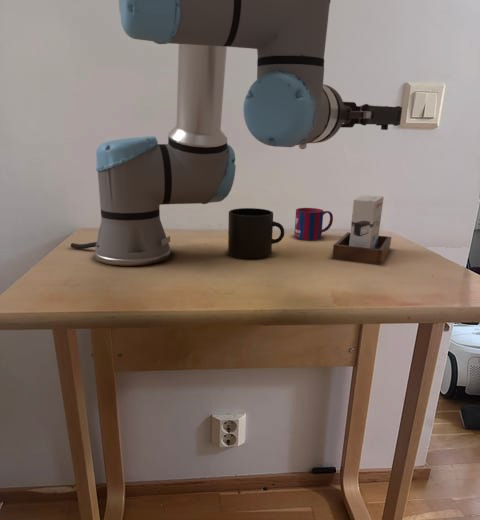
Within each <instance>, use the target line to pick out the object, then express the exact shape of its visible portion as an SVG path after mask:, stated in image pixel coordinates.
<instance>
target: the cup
mask: <svg viewBox="0 0 480 520" xmlns="http://www.w3.org/2000/svg"><path fill="white" fill-rule="evenodd" d="M326 214H328V215H329V222H328V223H327V226H326V227H325V228H323V222H324V215H326ZM294 219H295V220H294V221H295V222H294V236H293V237H294V239H297V240H302V241H319V240H321V239H322V233H325V232H327V231H328V230H330V228H331V227H332V225H333V221H334V216H333V213H332V212H331V211H329V210H323V209H321V208H316V207H299V208H296V209H295V217H294Z"/></svg>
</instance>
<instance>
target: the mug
mask: <svg viewBox="0 0 480 520" xmlns="http://www.w3.org/2000/svg"><path fill="white" fill-rule="evenodd" d="M227 227H228V232H227V233H228V234H227V235H228V236H227V241H228V242H227V252H228V254H229V255H230V256H232V257H234V258H238V259H243V260H244V259H245V260H257V259H258V260H259V259H265V258H268V257H270V256H271V255H272V253H273V245H274V244H278V243H280V242H281V241H282V240H283V238H284V237H285V228H284V227H283V225H282V224H281V223H280V222H278V221H274V211H272V210H269V209H265V208H255V207H254V208H253V207H243V208H242V207H240V208H233V209H230V210H229V211H228V226H227ZM275 227H276V228H278V230H279V231H280V233H279V236H278V237H277V238H273V229H274V228H275Z"/></svg>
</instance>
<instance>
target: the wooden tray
mask: <svg viewBox="0 0 480 520" xmlns="http://www.w3.org/2000/svg"><path fill="white" fill-rule="evenodd" d="M350 232H351V231H350ZM350 232H349V231H348V232H346V233H345V234H344V235H343V236H342V237H340V238H339V239H338V240H337V241H336V242H335V243H334V244H333V246H332V247H333V248H332V256H331V257H332V258H331V259H332V260H340V261H347V262H355V263H361V264H362V263H364V264H370V265H380V266H381V265H382V263H383V261H384V260H385V258H386V256H387V255H388V253H389V251H390V250H391V242H392V236H387V235H379V236H378V243H377V249H372V248H363V247H354V246H349V242H350Z"/></svg>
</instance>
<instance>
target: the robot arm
mask: <svg viewBox="0 0 480 520" xmlns="http://www.w3.org/2000/svg"><path fill="white" fill-rule="evenodd" d="M330 7H331V0H118V9H119V10H118V11H119V15H120V22H121V23H120V24H121V26H122V29H123V31H124V33H125V34H126V35H127V36H128V37H129V38H131V39H133V40H138V41H147V42H153V43H154V44H157V45H167V44H174V45H178V47H177V48H178V51H177V85H176V87H177V88H176V89H177V90H176V91H177V92H176V125H175V126H174V127H173V128H172V129H171V130H170V131H169V132H168V136H167V137H168V138H167V139H168V141H167V143H164V144H163V143H159V141H158V140H157V138H156V137H155V136H150V135H148V136H140V137H139V136H137V137H136V136H135V137H128V138H121V139H120V138H119V139H115V140H109V141H105V142H101V143H100V144H99V145H98V146H97V148H96V150H95V151H96V152H95V154H96V155H95V157H96V167H95V171H96V172H97V180H98V182H97V183H98V195H99V207H100V221H101V222H100V225H99V228H98V234H97V239H96V241H94V242H88V243H74V242H72V243H70V248H73V249H78V250H80V249H81V250H85V249H90V248H94V255H95V256H94V257H95V260H97V261H98V262H100V263H103V264H106V265H110V266H121V267H134V266H135V267H136V266H138V267H139V266H146V265H153V264H157V263H162V262H163V261H166V260H168V259H169V258H170V257H171V248H170V247H171V246H170V243H171V235H169V236H167V235H166V232H165V229H164V226H163V224H162V221H161V215H160V214H161V212H160V210H161V209H160V206H162V205H190V204H192V205H195V204H196V205H197V204H201V205H207V204H210V203H219V202H222V201H224V200H225V199H226V198H227V197H228V196H229V194H230V192H231V191H232V188H233V185H234V181H235V176H236V167H237V166H236V164H235V163H236V154H235V151H234V148H233V147H232V146H231V145H230V144H228V137H227V135H226V134H225V132H223V130H222V117H223V116H222V115H223V103H224V92H225V91H224V90H225V79H226V77H225V76H226V65H227V52H228V51H227V50H228V48H238V49H239V48H240V49H253V50H256V52H257V60H256V61H257V63H256V64H257V65H256V66H257V67H256V80H255V81H254V82H253V83H252V84H251V85H250V87H249V89H248V91H247V93H246V95H245V97H244V101H243V107H242V108H243V112H242V113H243V119H244V123H245V126H246V127H247V131H249V133H250V134H251V136H253V138H254V139H256V141H258V142H260V143H261V144H263V145H266V146H269V147H270V146H271V147H275V148H293V147H296V146H298V148H299V149H300V150H305V149H306V148H307V144H319V143H324V142H326V141H328V140H330V139H332V138H333V137H335V135H336V134H337V133H338V132H339V130H340V129H341V128H346V129H347V128H353V127H354V126H355V125H361V126H367V125H375V126H380V130H383V131H388V130H389V129H388V128H389V126H390V125H391V126H392V125H393V127H398V126H400V125H401V119H402V113H403V107H402V106H400V105H396V106H388V105H387V106H386V105H371V104H369V103H364V104H361V105H360V106H359V105H357V103H356V102H354V101H344V100H343V98H342V96H341V95H340V93H339V92H338V90H336V89H335V88H334V87H332V86H330V85H328V84H326V83H325V84H324V76H325V51H326V42H327V32H328V25H329V13H330Z"/></svg>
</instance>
